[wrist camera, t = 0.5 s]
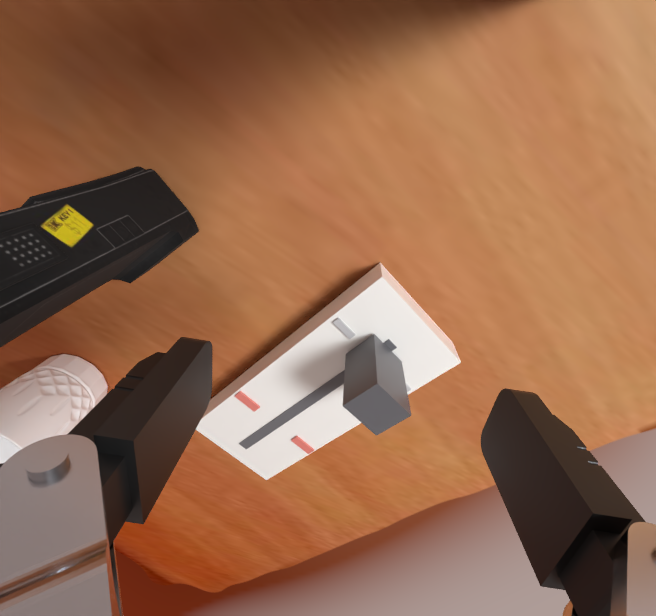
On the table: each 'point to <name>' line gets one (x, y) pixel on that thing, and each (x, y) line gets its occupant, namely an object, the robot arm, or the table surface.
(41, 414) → the white cup
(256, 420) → the panel
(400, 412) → the fader tab
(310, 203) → the table surface
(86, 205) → the portable radio
